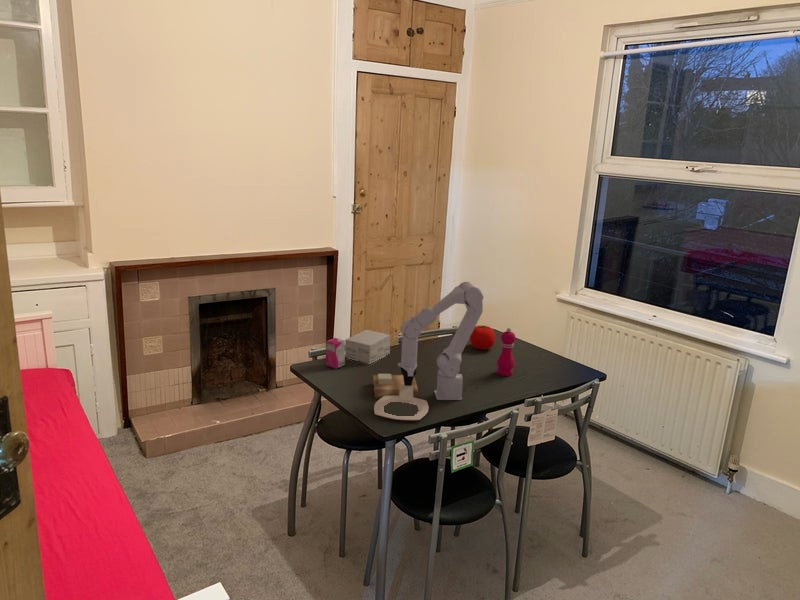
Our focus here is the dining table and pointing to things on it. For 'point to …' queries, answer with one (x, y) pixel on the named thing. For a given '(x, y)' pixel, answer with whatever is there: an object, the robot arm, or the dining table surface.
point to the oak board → (392, 386)
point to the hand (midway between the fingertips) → (407, 387)
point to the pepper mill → (506, 354)
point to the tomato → (482, 337)
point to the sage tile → (384, 379)
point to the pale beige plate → (387, 399)
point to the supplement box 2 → (367, 346)
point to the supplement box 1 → (335, 353)
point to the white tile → (406, 393)
